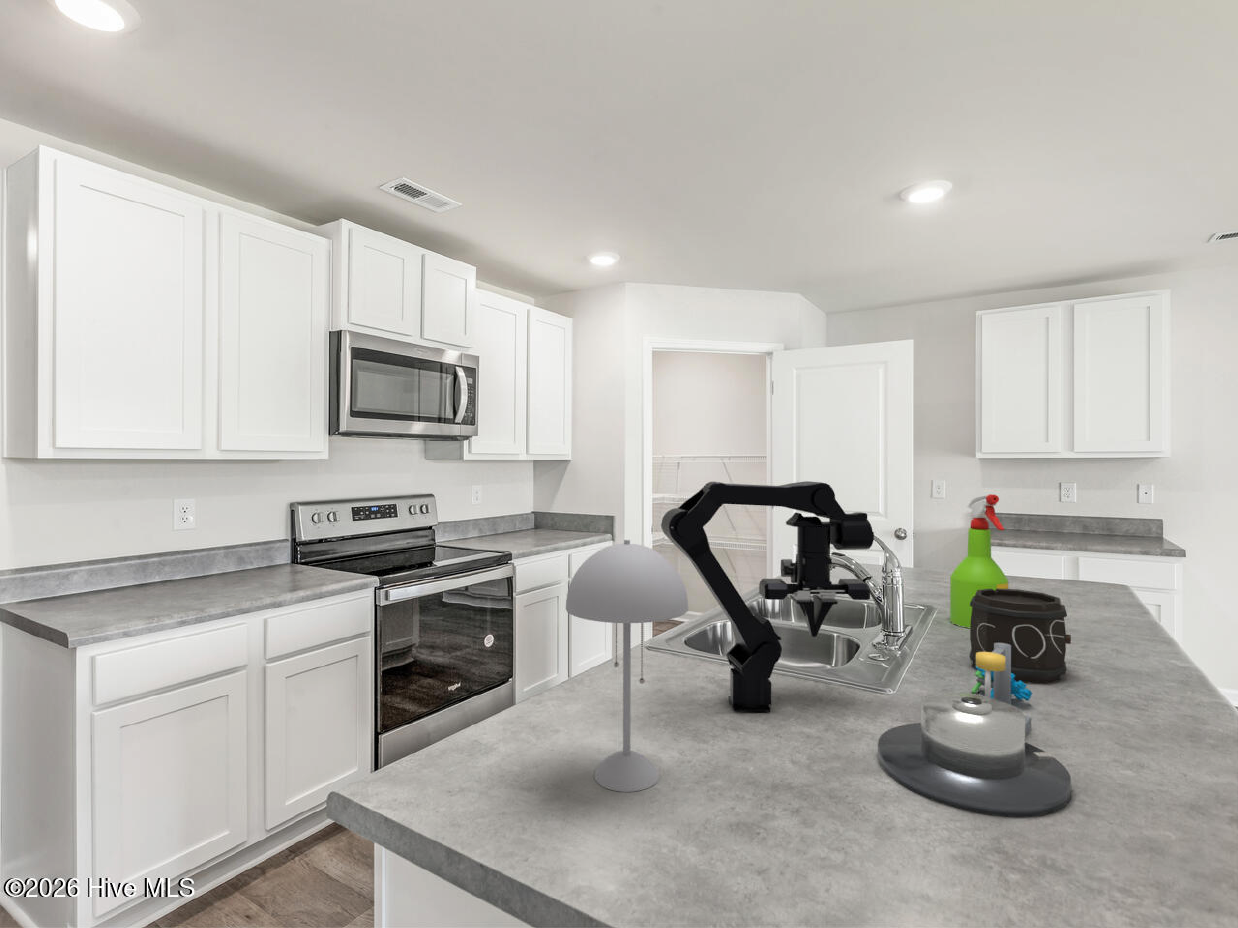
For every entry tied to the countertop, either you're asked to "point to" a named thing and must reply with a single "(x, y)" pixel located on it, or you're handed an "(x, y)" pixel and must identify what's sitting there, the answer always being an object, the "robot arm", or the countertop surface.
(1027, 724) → the gauge stand
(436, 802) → the countertop surface
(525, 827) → the countertop surface
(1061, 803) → the turntable
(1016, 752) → the cover
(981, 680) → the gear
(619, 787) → the lamp
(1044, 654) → the wooden barrel
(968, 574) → the spray bottle
